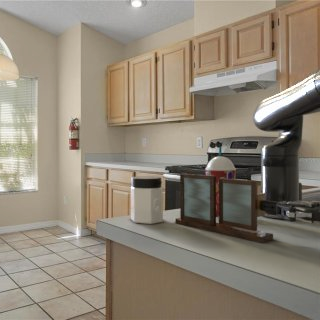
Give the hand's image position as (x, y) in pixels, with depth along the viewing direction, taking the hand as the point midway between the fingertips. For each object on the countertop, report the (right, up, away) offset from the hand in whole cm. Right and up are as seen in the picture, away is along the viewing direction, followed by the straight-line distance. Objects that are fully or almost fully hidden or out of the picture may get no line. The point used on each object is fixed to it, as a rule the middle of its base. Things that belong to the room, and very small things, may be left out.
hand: (261, 205), depth 74 cm
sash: (-3, -5, +4) cm, 7 cm away
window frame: (-7, -7, +6) cm, 12 cm away
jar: (-22, -7, +18) cm, 29 cm away
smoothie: (+1, -6, +24) cm, 25 cm away
